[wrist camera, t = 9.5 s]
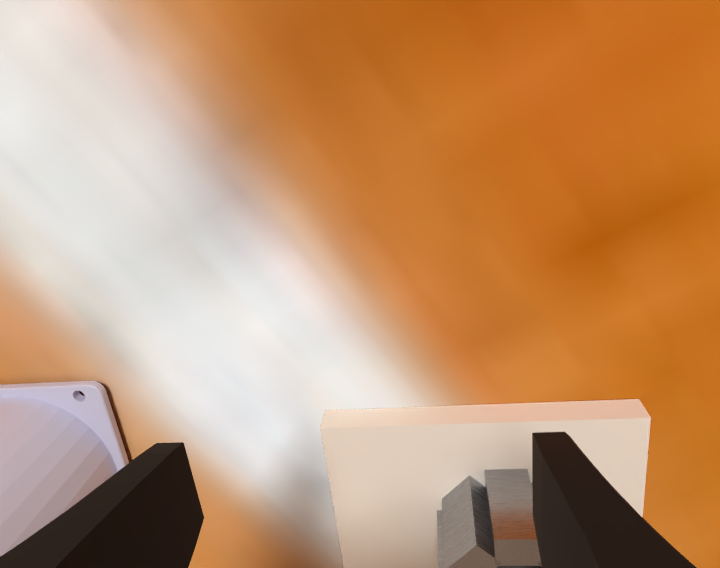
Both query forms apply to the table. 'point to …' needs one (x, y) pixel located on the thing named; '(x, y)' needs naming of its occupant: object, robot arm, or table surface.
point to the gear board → (457, 465)
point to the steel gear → (488, 522)
